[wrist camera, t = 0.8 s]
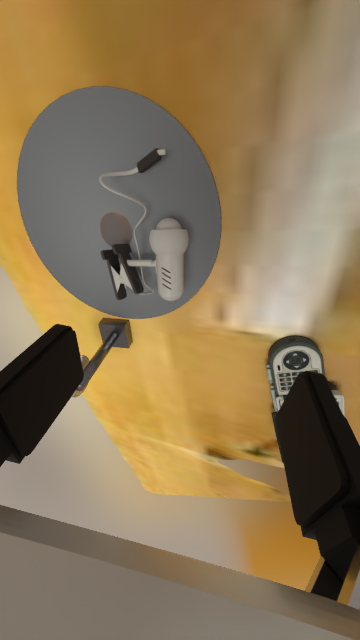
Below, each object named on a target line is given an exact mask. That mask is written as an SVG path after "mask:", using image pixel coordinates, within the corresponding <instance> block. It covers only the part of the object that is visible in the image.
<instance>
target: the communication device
mask: <svg viewBox="0 0 360 640" xmlns="http://www.w3.org/2000/svg"><path fill="white" fill-rule="evenodd" d="M269 363H270V365H269V364H266V368H267V373H268V378H269V383H273V384H274V386H273V385H270V388H271V393H272V398H273V403H274V408H275V411H279V409H280V407H281V405H282V404H283V402H284V400H285V398H286V396H287V394H288V392H289V390H290V389H291V387H292V385H293V383H294V381H295V379H296V377H297V376H298V374H299V373H302V374H303V372H304V371H312V372H317V373H322V374H323V375H324V363H323V356H322V354H321V352H320V350H319V348H318V347H317V345H316V344H315V343H314V342H313V341H311V340H310V339H308V338H305V337H299V336H292V337H287V338H284V339H281V340H279V341H278V342H276V343H275V344H274V345H273V346H272V347H271V349H270V351H269ZM268 367H270V368H271V370H270V368H268ZM271 374H272V375H271ZM325 378H326V377H325ZM272 379H273V380H272ZM326 380H327V379H326ZM327 383H328V381H327ZM328 385H329V384H328ZM329 387H330V389H331V391H332V393H333V395H334V397H335V399H336V401H337V403H338V405H339V407H340V409H341V412H342V414H343V415H344V416H345V410H344V396H343V395H341V394H340V392H339V391H338V389H337V387H336V385H329ZM274 389H275V391H274ZM275 395H276V396H275ZM277 413H278V412H272V417H273V422H274V428H275V433H276V437H277V442H278V446H279V450H280V454H281V458H282V462H283V463H284V461H283V456H282V451H281V446H280V441H279V436H278V431H277V426H276V415H277ZM345 418H346V417H345Z"/></svg>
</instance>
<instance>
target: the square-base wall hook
mask: <svg viewBox="0 0 360 640" xmlns="http://www.w3.org/2000/svg"><path fill="white" fill-rule="evenodd" d="M98 325H99V329H100V333H101V336H102V340H103V344H102V346H101V347H100V348H99V350H98V351H97V352H96V354H95V355H94V356H93V358H92V359H91V360H90V361H89V359H88V358H87V357H86V356H83V355H80V357H81V362H82V367H83V372H84V378H83V381H82V382H81V384H80V385H79V387H78V388H77V389H76V391H75V392H74V394H73V395H72V396H71V397H78V396H79V395H81V394H82V393H83V392H84V390H85V389H86V387H87V385H88V382H89V380H90V379H91V377H92V376H93V374H94V373H95V371H96V370H97V369H98V367H99V366H100V364H101V363H102V361H103V360H104V358H105V357H106V355H107V354H108V352H109V351H110V349H111V348H112V347H121V348H129V347H130V345H131V343H132V336H131V330H130V324H129V320H121V319H109V318H103V319H102V320H101V321H100V323H99V324H98Z"/></svg>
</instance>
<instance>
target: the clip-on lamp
mask: <svg viewBox="0 0 360 640" xmlns="http://www.w3.org/2000/svg"><path fill="white" fill-rule="evenodd" d="M161 155H166V150H165V149H158V148H155V149H154V150H153V151H151V152H150V153H149V154H148V155H146V156H145V157H144V158H143V159H141V160H140V161H139V162H138V163H137V167H136V168H135V169H132V170H128V171H121V172H110V173H105V174H102V175H101V176H100V177H99V182H100V183H101V184H102V186H104V187H105V188H107V189H108V190H110V191H112V192H114V193H116V194H118V195H120V196H123V197H125V198H128V199H130V200H132V201H135V202H137V203H139V204H140V205H142V206H143V207H144V208H145V213H144V216H143V217H142V218H141V220H140V221H139V222H138V224H137V225H136V227H135V229H134V238H135V242H136V246H137V250H138V255H139V260H132V258H131V256H130V252H131V248H130V246H129V244H114V245H112V249H111V250H102V251H101V252H100V253H101V256H102V259H103V260H106V261H107V265H108V269H109V273H110V277H111V281H112V284H113V288H114V292H115V296H116V299H117V300H122V299H124V298H126V297H127V293H126V287H127V286H128V287H129V288H131V289H132V290H133V292H134V293H135V294H142V295H146V294H151V293H153V292H154V290H153V289H152V288H151V287H149V286H148V285H147V284H146V283H145V280H144V275H143V268H142V266H148V267H156V273H157V282H158V293H159V295H160V296H161V297H162V298H163V299H165V300H167V301H174V300H177V299H178V298H180V297H181V295H182V294H183V291H184V256H183V253H184V252H185V251H186V249H187V246H188V242H189V236H188V232H187V230H186V229H182V228H181V225H180V224H179V222H178V221H177V220H175V219H173V218H164V219H162V220H161V221H160V222H159V223H158V225H157V227H156V230H151V232H150V236H149V241H150V246H151V248H152V250H153V252H154V253H155V254H156V260H155V261H154V260H141V255H140V250H139V245H138V241H137V238H136V230H137V228H138V227H139V225H140V224H141V222H142V221H143V220H144V218H145V217H146V214H147V207H146V206H145V204H144V203H142V202H140V201H139V200H137V199H135V198H133V197H131V196H128V195H126V194H123V193H121V192H119V191H116V190H114V189H112V188H110V187H109V186H107V185H106V184H105V183H104V182H103V178H105V177H110V176H125V175H132V174H135V173H138V172H139V173H143V172H145V171H146V170H147V169H149V168H150V167H152V166H153V165H154V164H156V163H157V162H159V161H160V160H161V159H162V157H161ZM118 258H120V261H121V265H120V263H119V259H118ZM135 266H140V268H141V274H142V279H143V282H144V284H145V286H147V287H148V288H149V289H151V290H152V291H150V292H143V291H144V288H143V285H142V283H141V280H140V278H139V275H138V273H137V270H136V268H135Z"/></svg>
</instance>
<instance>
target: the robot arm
mask: <svg viewBox="0 0 360 640" xmlns="http://www.w3.org/2000/svg"><path fill="white" fill-rule="evenodd" d="M83 378H84V372H83V367H82V362H81V357H80V352H79V347H78V342H77V337H76V333H75V331H73V330H72V328H71V327H70V326H65V325H60V324H56V325H54V326H53V327H52V328H50V329H49V330H48V331H47V332H46V333H45V334H43V335H42V336H41V337H40V338H39V339H38V340H36V341H35V342H34V343H33V344H32V345H31V346H30V347H28V348H27V349H26V350H25V351H24V352H22V353H21V354H20V355H19V356H18V357H17V358H15V359H14V360H13V361H12V362H11V363H10V364H8V366H6V367H5V368H4V369H3V370H2V371H0V467H1V465H2V464H3V463H4V461H5V460H7V461H11V462H15V463H19V464H20V463H21V461H22V460H23V458H24V457H25V456H28V455H29V454H31V452H32V451H33V450H34V448H35V447H36V446H37V444H38V443H39V441H40V440H41V439H42V437H43V436H44V434H45V433H46V432H47V430H48V429H49V427H50V426H51V424H52V423H53V422H54V420H55V419H56V417H57V416H58V415H59V413H60V412H61V411H62V409H63V407H64V406H65V405H66V403H67V402H68V401H69V399H70V398H71V396H72V395H73V394H74V392H75V391H76V389H77V388H78V387H79V385H80V384H81V382H82V381H83ZM276 426H277V431H278V436H279V441H280V446H281V451H282V456H283V461H284V467H285V471H286V476H287V482H288V487H289V492H290V497H291V502H292V507H293V513H294V517H295V520H296V522H297V524H298V525H301V530H302V535H303V537H307V538H311V539H315V540H317V542H318V546H319V550H320V554H321V557H320V559H319V561H318V563H317V565H316V567H315V570H314V572H313V574H312V576H311V578H310V580H309V583H308V585H307V587H306V589H305V591H303V590H300V589H296V588H293V587H290V586H286V585H283V584H280V583H277V582H273V581H270V580H267V579H263V578H260V577H256V576H253V575H249V574H246V573H242V572H239V571H235V570H232V569H228V568H225V567H221V566H218V565H214V564H211V563H207V562H203V561H200V560H197V559H193V558H190V557H186V556H183V555H179V554H175V553H172V552H168V551H165V550H161V549H158V548H154V547H150V546H147V545H143V544H140V543H136V542H133V541H129V540H125V539H122V538H118V537H115V536H111V535H107V534H104V533H100V532H97V531H93V530H89V529H86V528H82V527H78V526H75V525H71V524H67V523H64V522H60V521H57V520H53V519H49V518H46V517H42V516H39V515H35V514H31V513H27V512H24V511H20V510H17V509H13V508H9V507H6V506H2V505H0V640H360V446H359V444H358V442H357V440H356V438H355V436H354V433H353V431H352V429H351V427H350V425H349V423H348V421H347V419H346V418H345V416H344V415H343V414H342V412H341V409H340V407H339V405H338V403H337V401H336V399H335V397H334V395H333V393H332V391H331V389H330V387H329V385H328V383H327V380H326V378H325V376H324V375H323V374H322V373H317V372H312V371H304V372H303V374H302V373H299V374H298V376H297V377H296V379H295V381H294V383H293V385H292V387H291V389H290V390H289V392H288V394H287V396H286V398H285V400H284V402H283V404H282V405H281V407H280V409H279V411H278V413H277V415H276Z"/></svg>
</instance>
